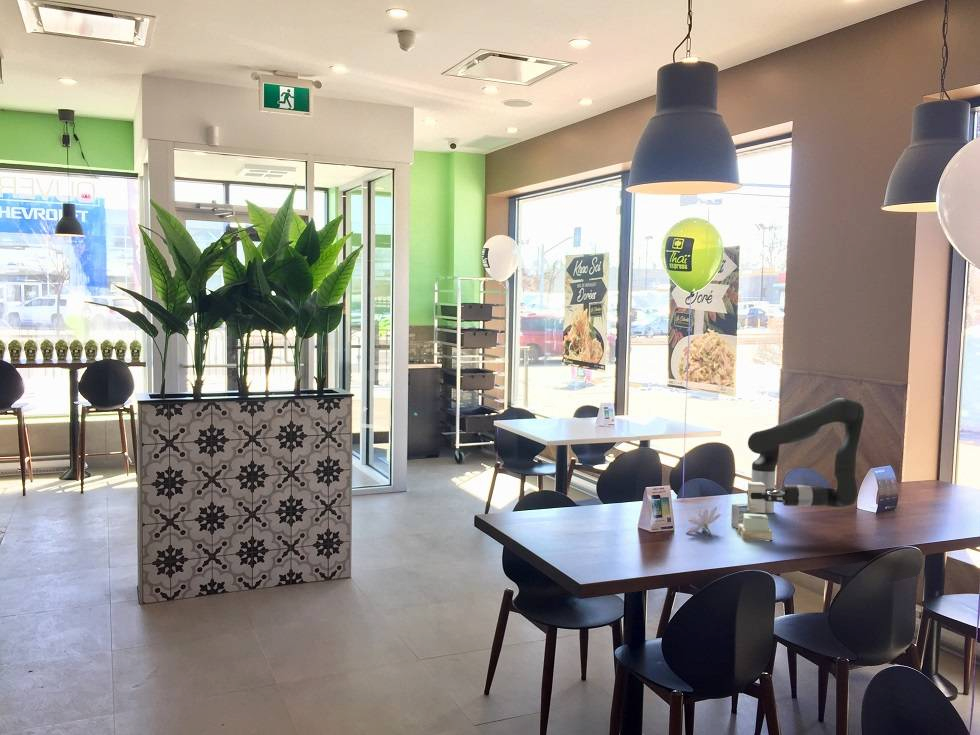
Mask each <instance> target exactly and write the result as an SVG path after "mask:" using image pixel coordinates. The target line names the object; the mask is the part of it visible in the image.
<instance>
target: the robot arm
mask: <svg viewBox="0 0 980 735" xmlns="http://www.w3.org/2000/svg"><path fill="white" fill-rule="evenodd" d="M864 417H865V409H864V406H863V404H862V403H860V402H858V401H856V400H853V399H849V398H845V397H836V398H834V399H832V400H831V401H829V402H827V403H825V404H823V405H822V406H820V407H818V408H815V409H812V410H811V411H808V412H806V413H802V414H800V415H798V416H794V417H792V418H790V419H788V420H786V421H783V422H781V423H779V424H777V425H775V426H773V427H770V428H767V429H763V430H758V431H754V432H753V433H751V434H750V435H749V437H748V440H747V446H748V448H749V450H750V451H751V452H753V453H755V454H758V455H759V456H758V458H757V459H756V460H754V461H753V462H752V463H751V482H762V483H764V484H765V485H766V490H765V493H751V499H762V500H765V513H764V514H773V513H775V503H781V504H782V505H784V506H786V507H810V506H811V507H814V506H815V507H817V506H818V507H821V506H822V507H823V506H824V507H825V506H826V507H831V508H846V507H850V506H852V505H854V504H855V503H856V501H857V500H858V486H857V479H856V472H857V470H856V469H857V468H856V467H857V465H856V464H857V451H858V447H859V446H858V445H859V441H860V437H861V432H862V428H863V424H864ZM832 423H841V424H843V425H845V426H844V427H845V430H844V431H845V433H844V438H843V440H842V441H841V444H840V445H839V447H838V449H837V451H836V453H835V457H834V474H833V475H834V478H835V479H836V482H837V483H836V484H837V486H836V487H825V486H821V485H820V486H819V485H818V486H817V485H804V484H803V485H802V484H784V485H782V487H781V490H780V489H778V488H776V468H777V466H778V462H779V455H780V454H779V453H780V445H786V444H790V443H795V442H796V443H797V442H801V441H804V440H807V439H809V438H811V437H814V436H815V435H817V434H818V433H819V431H820V429H821V428H822V427H823V426H825V425H829V424H832ZM746 495H747V496H748V489H746ZM756 514H760V513H759V512H756Z"/></svg>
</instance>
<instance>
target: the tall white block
mask: <svg viewBox="0 0 980 735" xmlns="http://www.w3.org/2000/svg"><path fill="white" fill-rule="evenodd" d="M747 482H748V483H747V490H748V495H747V504H748V505H747V509H748V510H749V511H750V512H756V513H757V512H759V513H758V514H766V513H765V500H762V499H751V493H765V490H766V485H765V484H764V483H762V482H752V481H747Z"/></svg>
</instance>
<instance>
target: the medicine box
mask: <svg viewBox="0 0 980 735" xmlns="http://www.w3.org/2000/svg"><path fill="white" fill-rule="evenodd" d="M747 505H748V503H733V504H731V522H730V526H731V527H733V528H734V529H737V528H738V524H743V513H746V514H757V512H750V511H749V510H748V509H747Z"/></svg>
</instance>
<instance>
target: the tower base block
mask: <svg viewBox="0 0 980 735" xmlns="http://www.w3.org/2000/svg"><path fill="white" fill-rule="evenodd" d="M737 535H738V536H739V535H740V536H741V537H742V538H741V537H740V536H739V537H740V538H741V539H742V540H743V541H750V540H772V541H773V531H772V530H771V529H770V528H769V527H768V531H763V530H749V529H744V526H743V524H738V529H737Z"/></svg>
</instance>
